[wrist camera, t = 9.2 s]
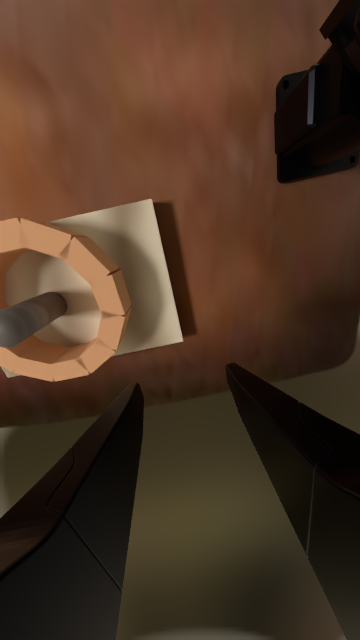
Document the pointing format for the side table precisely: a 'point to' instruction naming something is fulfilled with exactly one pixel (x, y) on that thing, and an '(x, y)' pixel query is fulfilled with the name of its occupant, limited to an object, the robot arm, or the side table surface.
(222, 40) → the side table surface
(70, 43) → the side table surface
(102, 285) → the orange segmented ring
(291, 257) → the side table surface
